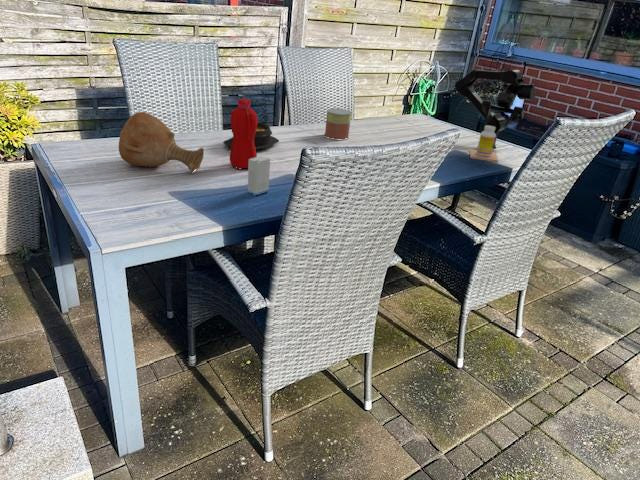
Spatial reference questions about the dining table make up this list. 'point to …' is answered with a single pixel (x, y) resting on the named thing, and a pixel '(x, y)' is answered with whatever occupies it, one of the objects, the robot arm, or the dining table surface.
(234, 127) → the water bottle
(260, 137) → the black hat
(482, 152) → the supplement bottle
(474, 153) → the terracotta tile
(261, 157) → the skincare box
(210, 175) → the dining table surface
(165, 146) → the jug
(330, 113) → the canned food
